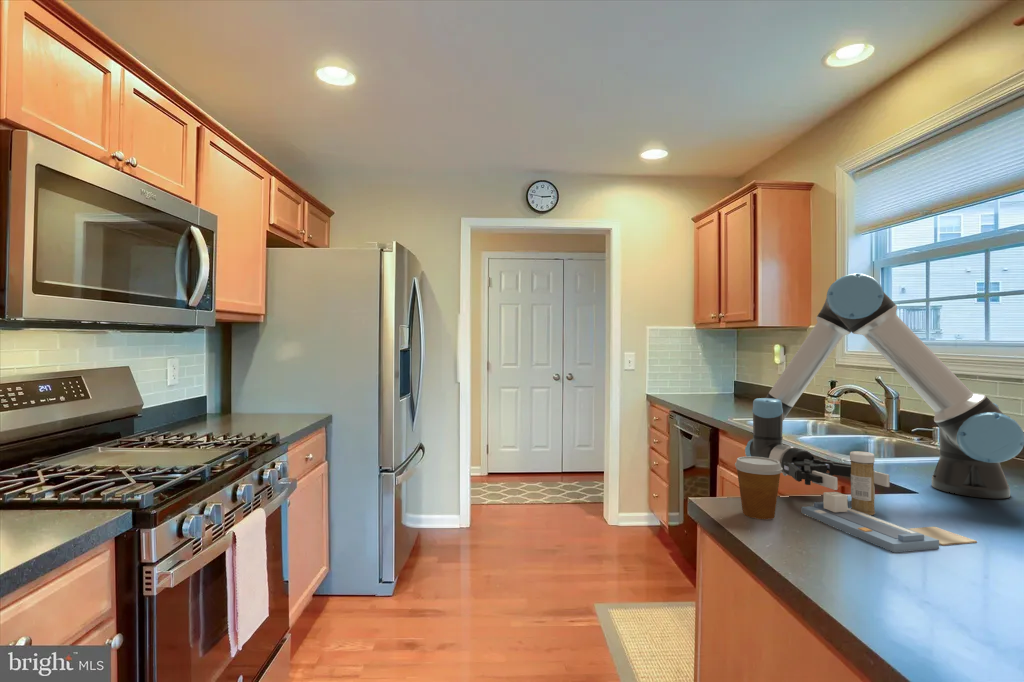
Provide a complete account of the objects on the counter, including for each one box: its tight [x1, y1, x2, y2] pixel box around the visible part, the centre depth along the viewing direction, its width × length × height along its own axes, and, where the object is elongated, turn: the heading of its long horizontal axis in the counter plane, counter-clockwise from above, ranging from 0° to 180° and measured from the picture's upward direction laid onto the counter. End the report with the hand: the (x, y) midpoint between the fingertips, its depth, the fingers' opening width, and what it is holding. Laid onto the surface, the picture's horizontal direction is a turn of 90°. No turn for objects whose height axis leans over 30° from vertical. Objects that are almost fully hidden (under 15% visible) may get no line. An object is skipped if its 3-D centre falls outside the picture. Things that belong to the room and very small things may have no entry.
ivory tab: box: [822, 491, 849, 512], centre depth 110 cm, size 3×3×4 cm
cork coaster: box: [908, 526, 978, 546], centre depth 99 cm, size 8×8×1 cm
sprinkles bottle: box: [849, 450, 876, 516], centre depth 114 cm, size 5×5×14 cm
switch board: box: [800, 501, 940, 553], centre depth 103 cm, size 10×22×2 cm, turn 11°
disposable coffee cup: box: [734, 455, 783, 520], centre depth 112 cm, size 10×10×12 cm
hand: (862, 482), depth 113 cm, fingers open, 13 cm apart
